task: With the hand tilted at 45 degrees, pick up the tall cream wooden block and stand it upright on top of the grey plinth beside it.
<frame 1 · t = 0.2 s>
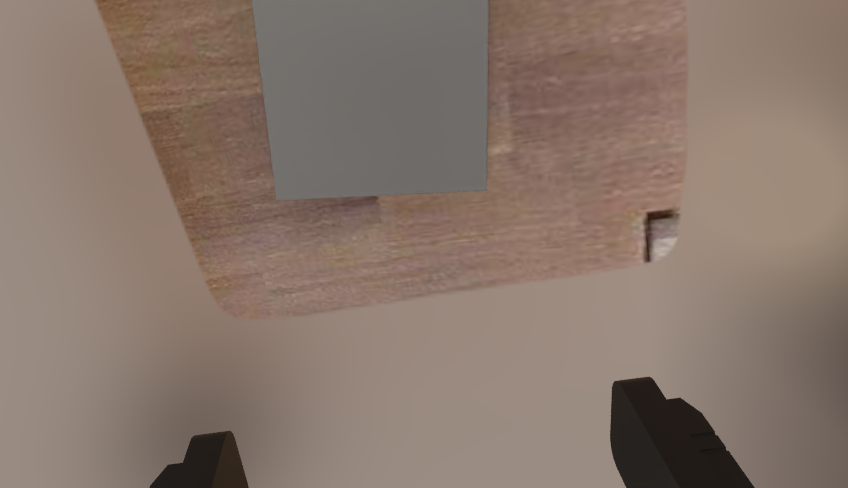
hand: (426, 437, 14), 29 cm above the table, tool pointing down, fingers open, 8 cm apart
plinth: (376, 77, 39), on the table
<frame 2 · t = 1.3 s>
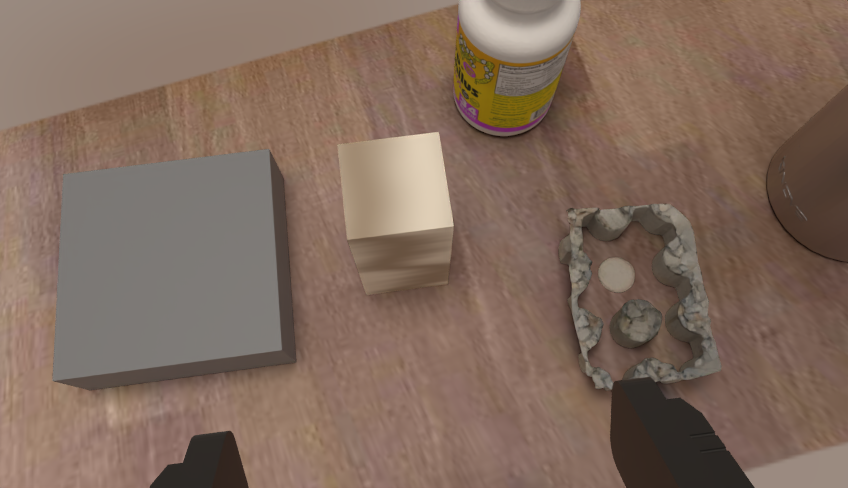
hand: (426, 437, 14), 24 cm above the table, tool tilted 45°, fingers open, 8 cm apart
egg carton: (623, 302, 40), on the table
supplement bottle: (501, 98, 45), on the table
cream block: (402, 251, 41), on the table
plinth: (191, 278, 40), on the table
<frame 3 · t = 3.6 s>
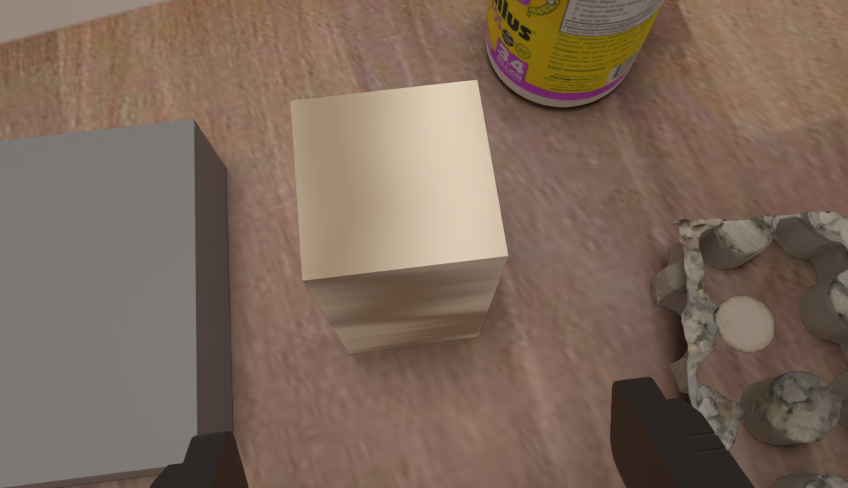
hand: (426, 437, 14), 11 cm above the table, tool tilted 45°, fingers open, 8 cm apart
egg carton: (756, 368, 25), on the table
supplement bottle: (556, 52, 30), on the table
cream block: (406, 283, 26), on the table
plinth: (75, 323, 26), on the table
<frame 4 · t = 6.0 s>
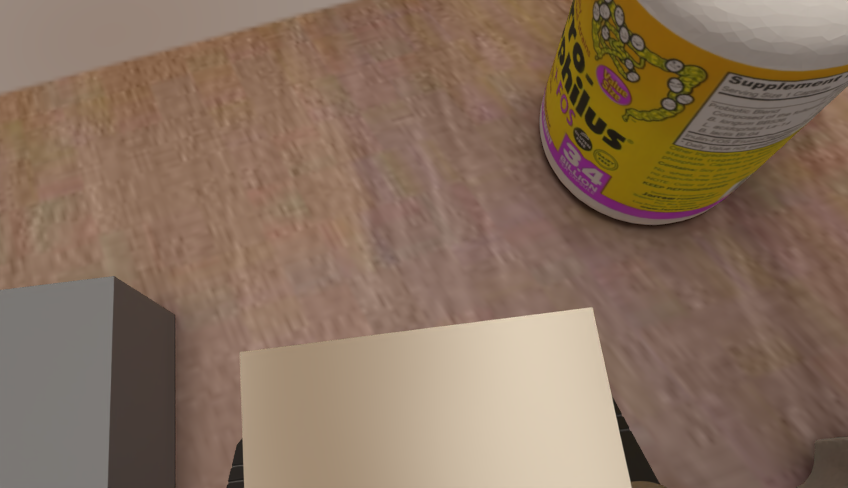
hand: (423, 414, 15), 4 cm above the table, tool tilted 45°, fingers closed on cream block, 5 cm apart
supplement bottle: (635, 141, 22), on the table
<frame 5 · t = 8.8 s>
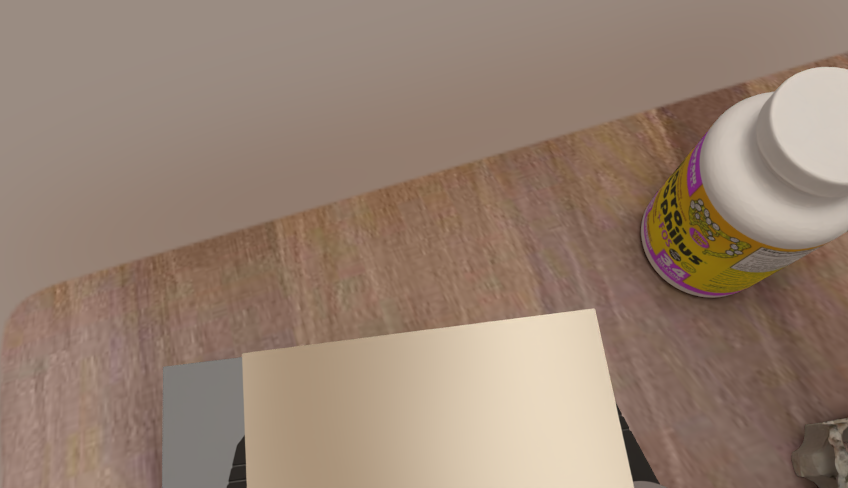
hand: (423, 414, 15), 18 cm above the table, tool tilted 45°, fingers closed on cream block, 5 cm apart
supplement bottle: (698, 242, 35), on the table
when the fingers open (10 cm above the table, at t = 11.8 s): cream block drops 1 cm, resting on plinth.
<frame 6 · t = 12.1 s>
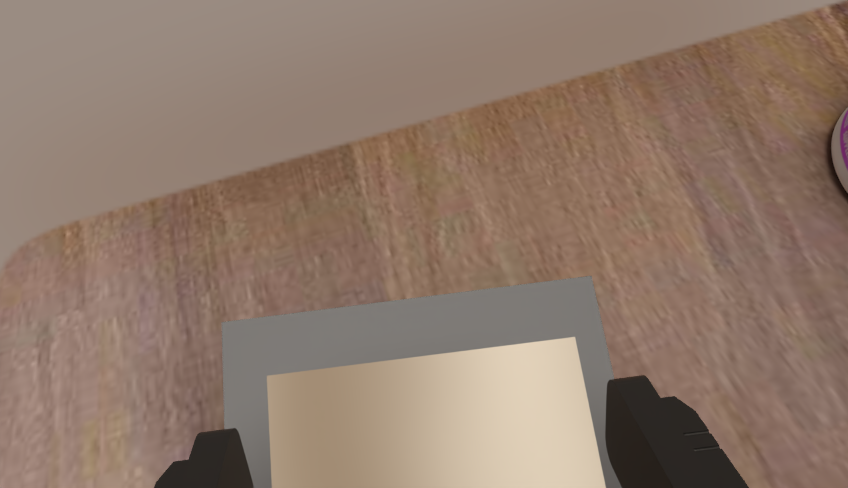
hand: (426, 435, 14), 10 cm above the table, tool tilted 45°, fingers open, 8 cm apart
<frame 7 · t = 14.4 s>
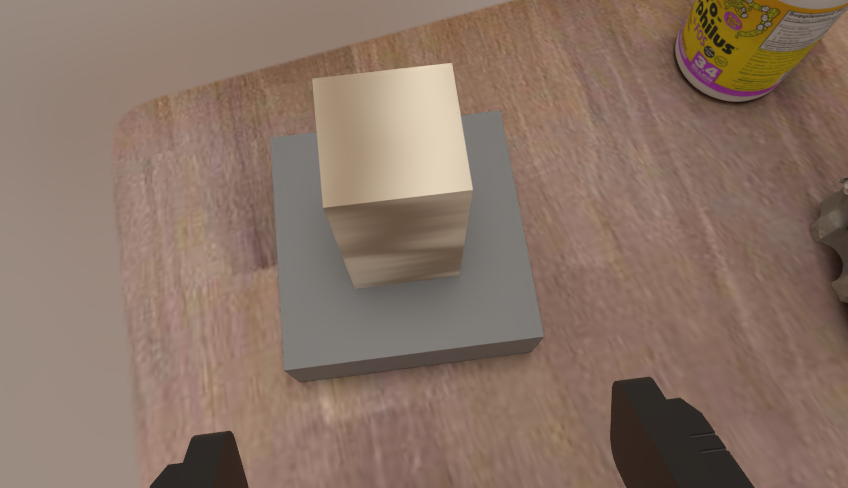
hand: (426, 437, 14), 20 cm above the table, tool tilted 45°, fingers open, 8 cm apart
supplement bottle: (725, 61, 40), on the table
cream block: (401, 233, 32), point 4 cm above the table, touching plinth
plinth: (402, 257, 36), on the table
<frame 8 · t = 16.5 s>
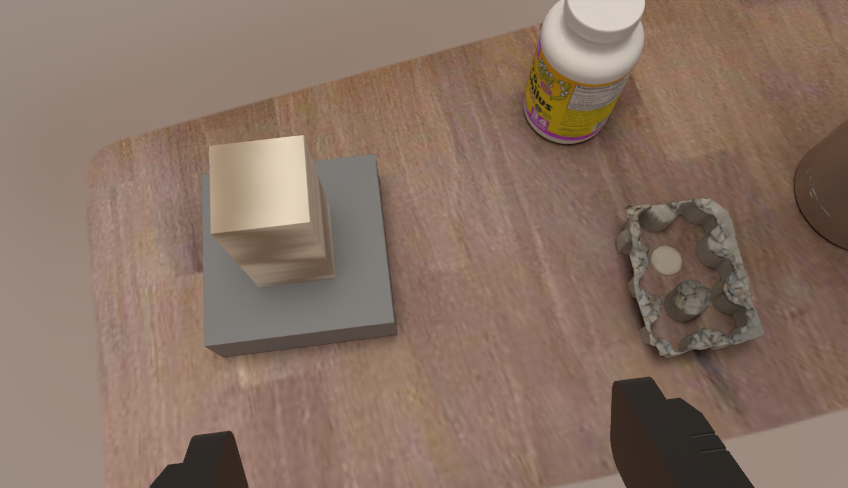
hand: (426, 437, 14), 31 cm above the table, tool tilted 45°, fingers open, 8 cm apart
egg carton: (673, 283, 47), on the table
supplement bottle: (563, 111, 52), on the table
cream block: (295, 246, 44), point 4 cm above the table, touching plinth
plinth: (304, 263, 47), on the table
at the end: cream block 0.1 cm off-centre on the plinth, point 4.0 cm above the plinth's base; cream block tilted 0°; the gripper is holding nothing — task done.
